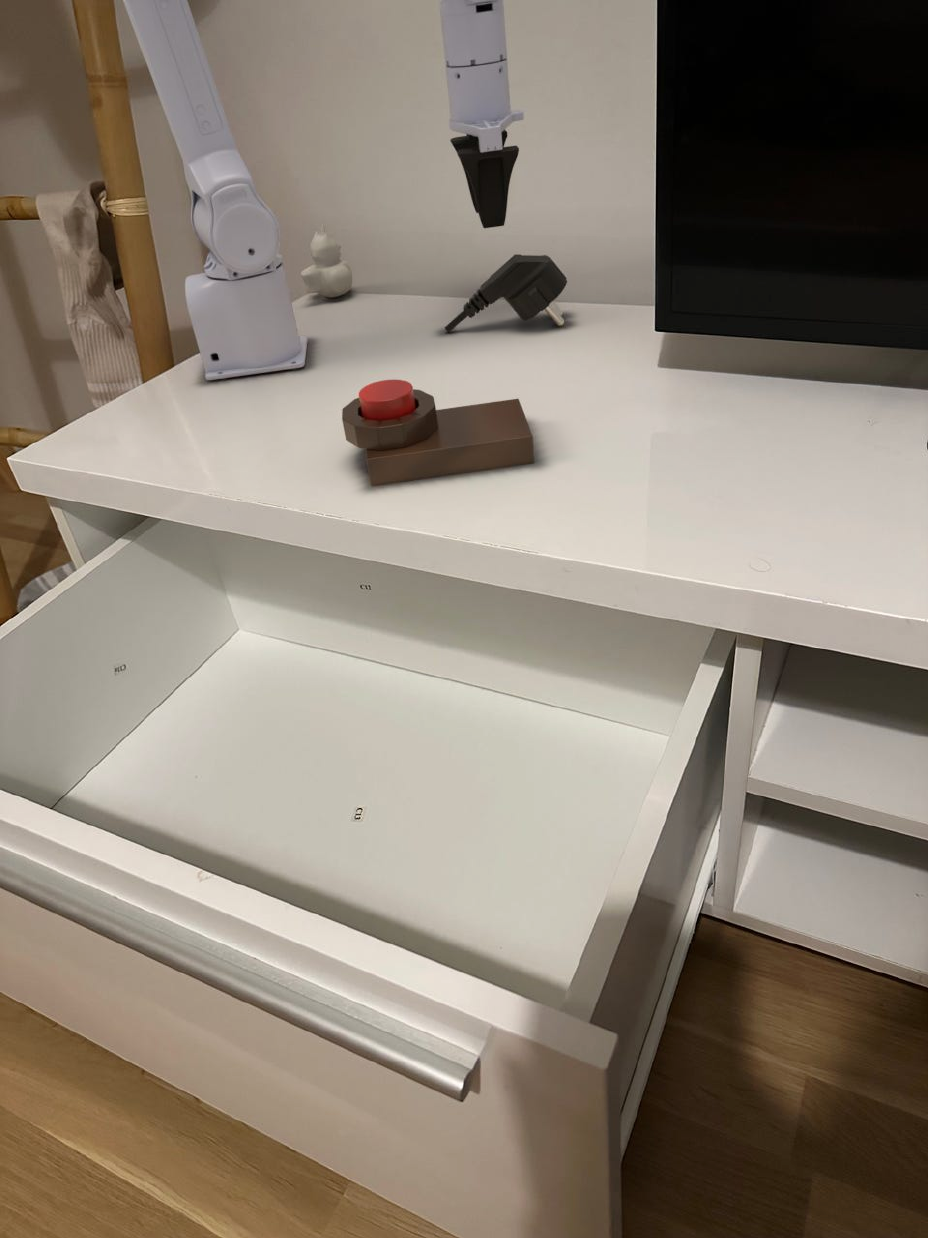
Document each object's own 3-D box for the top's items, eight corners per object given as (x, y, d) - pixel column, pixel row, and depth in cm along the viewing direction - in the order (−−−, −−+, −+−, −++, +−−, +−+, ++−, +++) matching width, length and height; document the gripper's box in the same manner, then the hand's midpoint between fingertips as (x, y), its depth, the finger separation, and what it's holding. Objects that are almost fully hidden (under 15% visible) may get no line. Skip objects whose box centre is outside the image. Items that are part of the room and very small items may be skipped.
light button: (362, 426, 67) (358, 404, 66) (362, 405, 70) (358, 383, 69) (417, 419, 67) (413, 396, 66) (414, 398, 70) (411, 375, 69)
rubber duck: (367, 291, 106) (355, 217, 101) (324, 309, 102) (310, 233, 98) (335, 286, 109) (322, 214, 104) (293, 303, 105) (277, 229, 101)
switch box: (351, 489, 67) (341, 439, 65) (351, 442, 73) (342, 395, 71) (534, 463, 67) (531, 412, 65) (518, 419, 74) (515, 371, 71)
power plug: (442, 314, 94) (534, 232, 89) (490, 368, 97) (582, 292, 92) (440, 333, 89) (536, 247, 84) (490, 389, 92) (587, 310, 87)
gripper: (531, 63, 79) (540, 230, 87) (508, 50, 91) (518, 197, 99) (450, 74, 79) (466, 240, 87) (437, 59, 91) (453, 206, 99)
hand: (489, 218), depth 93 cm, fingers open, 6 cm apart
